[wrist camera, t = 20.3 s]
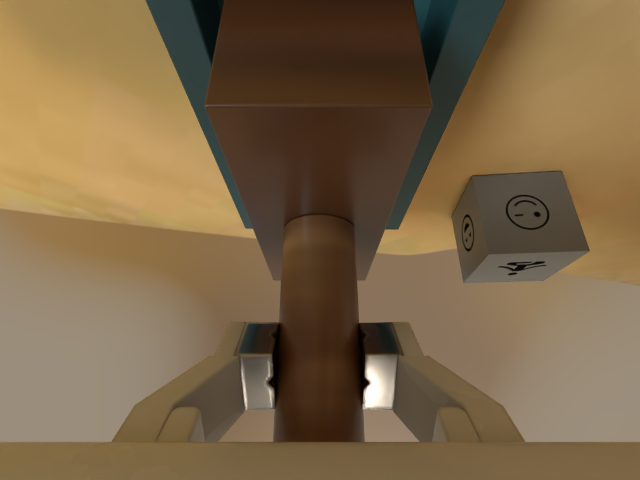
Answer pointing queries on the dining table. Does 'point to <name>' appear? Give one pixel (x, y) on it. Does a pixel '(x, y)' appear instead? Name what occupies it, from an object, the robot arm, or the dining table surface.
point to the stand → (438, 49)
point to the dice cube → (516, 227)
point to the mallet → (318, 175)
